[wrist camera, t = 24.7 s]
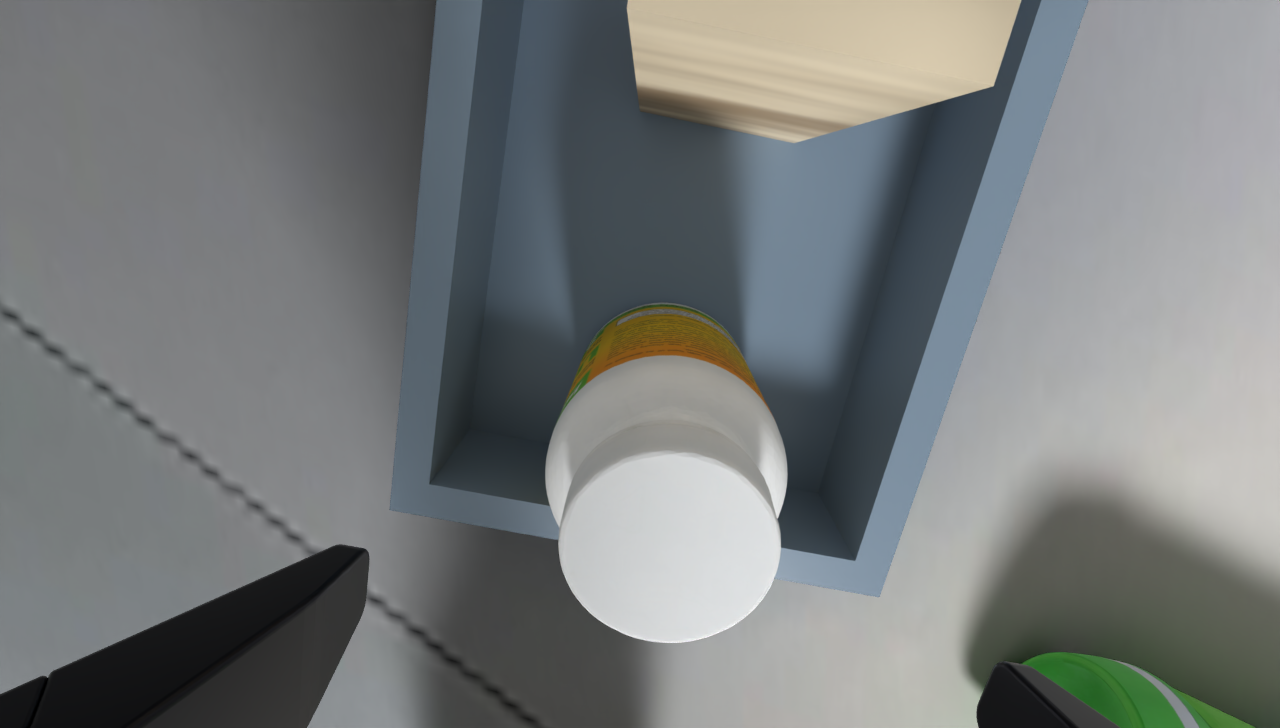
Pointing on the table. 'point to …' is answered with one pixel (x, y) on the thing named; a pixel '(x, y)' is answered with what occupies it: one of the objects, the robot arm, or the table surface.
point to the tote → (698, 266)
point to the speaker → (1128, 693)
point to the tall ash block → (811, 59)
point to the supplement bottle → (666, 478)
